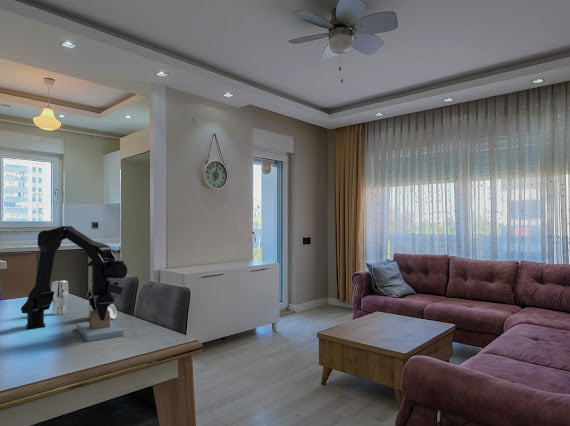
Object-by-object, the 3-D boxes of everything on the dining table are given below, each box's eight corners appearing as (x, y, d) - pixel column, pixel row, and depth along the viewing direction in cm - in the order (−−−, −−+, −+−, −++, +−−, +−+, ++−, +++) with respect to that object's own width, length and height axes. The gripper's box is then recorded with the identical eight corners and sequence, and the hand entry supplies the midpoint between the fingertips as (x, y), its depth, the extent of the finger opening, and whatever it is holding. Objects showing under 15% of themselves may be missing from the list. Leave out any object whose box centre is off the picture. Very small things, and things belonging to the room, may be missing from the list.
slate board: (77, 328, 153) (77, 323, 153) (109, 323, 160) (109, 318, 160) (87, 341, 135) (87, 336, 135) (123, 335, 142) (123, 330, 143)
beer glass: (71, 312, 180) (71, 281, 181) (55, 315, 175) (56, 282, 175) (63, 311, 184) (63, 279, 185) (47, 314, 178) (48, 281, 179)
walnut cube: (89, 326, 148) (89, 310, 148) (106, 323, 152) (106, 308, 152) (92, 329, 143) (92, 313, 144) (109, 327, 147) (109, 311, 147)
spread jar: (90, 316, 173) (90, 290, 173) (117, 314, 177) (117, 289, 178) (87, 322, 162) (87, 295, 162) (116, 320, 166) (116, 293, 166)
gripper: (128, 278, 146) (128, 319, 145) (116, 273, 161) (115, 311, 160) (96, 281, 139) (96, 324, 138) (86, 275, 154) (86, 314, 153)
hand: (99, 318), depth 148 cm, fingers open, 9 cm apart
